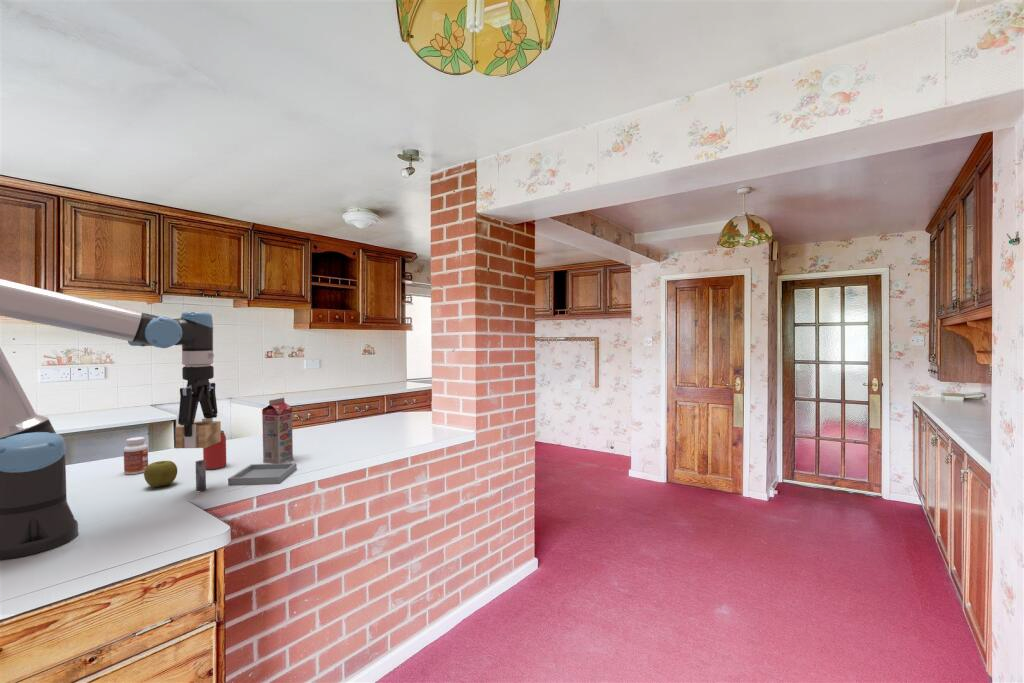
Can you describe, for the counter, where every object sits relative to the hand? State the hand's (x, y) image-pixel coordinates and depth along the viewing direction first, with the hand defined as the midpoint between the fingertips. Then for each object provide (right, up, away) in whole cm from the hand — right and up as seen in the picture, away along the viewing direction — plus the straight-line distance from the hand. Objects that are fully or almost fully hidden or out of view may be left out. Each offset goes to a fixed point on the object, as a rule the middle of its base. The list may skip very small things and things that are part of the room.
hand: (199, 443), depth 136 cm
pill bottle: (-32, -13, +18) cm, 39 cm away
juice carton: (+8, -13, +30) cm, 34 cm away
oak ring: (0, 0, 0) cm, 0 cm away
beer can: (-10, -13, +23) cm, 28 cm away
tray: (+12, -13, +13) cm, 22 cm away
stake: (0, -14, +1) cm, 14 cm away
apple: (-14, -14, +4) cm, 20 cm away
